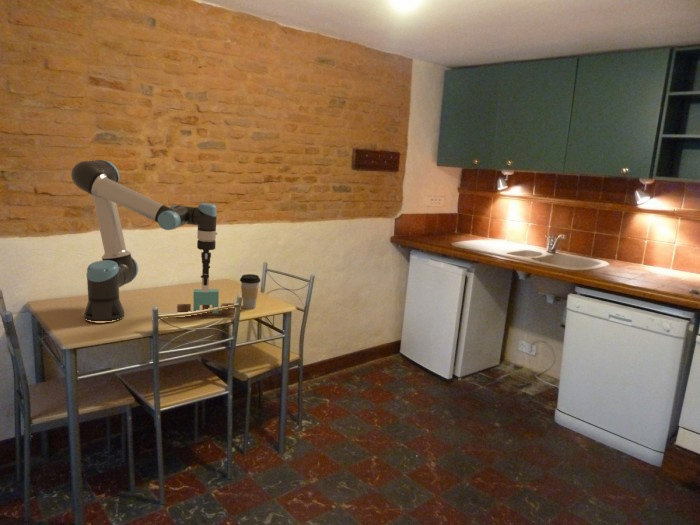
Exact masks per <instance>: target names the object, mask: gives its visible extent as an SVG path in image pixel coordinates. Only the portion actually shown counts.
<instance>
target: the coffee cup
mask: <svg viewBox="0 0 700 525" xmlns="http://www.w3.org/2000/svg"><path fill="white" fill-rule="evenodd" d="M239 282H240V284H241V285H240V287H241V298H242V308H243V309H245V308H246V309H245V310H253V309H252V308H254V309H256V307H257V306H256V305H257V300H258V294H259V287H260V286H259V285H260V284H259V283H260V282H261V278H260V276H259V275H257V274H253V273H252V274H251V273H245V274H243V275H242V276H241V277H240V278H239Z"/></svg>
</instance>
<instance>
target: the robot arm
mask: <svg viewBox="0 0 700 525" xmlns="http://www.w3.org/2000/svg"><path fill="white" fill-rule="evenodd" d="M70 174H71V175H70V176H71V180H72V182H73V184H74V186H76V187H77V188H78V189H79V190H81V191H83V192H86V193H87V194H88V196H90V197H91V198H92V199H93V200H92V201H93V204H94V209H95V214H96V218H97V223H98V227H99V232H100V237H101V242H102V246H103V251H104V254H103V255H102V256H101V260H99V261H94V262H92V263H90V264H89V265H88V266H87V267H86V281H87V297H88V298H87V299H88V301H87V303H86V304H87V305H86V306H85V311H84V317H83V318H85V319H87V320H91V321H112V320H117V319H120V318H122V317H124V318H125V311H124V310H125V309H124V308H123V306H122V305H123V304H122V302H121V299H120V288H121V287H124V285H127V284H129V283H131V282H132V281H134V280H135V278H136V277H137V275H138V273H139V265H138V262H137V261H136V260H135V259H134V258H133V256H132V253H131V251H129V250H127V248H126V244H125V243H126V242H125V238H124V233H123V228H122V223H121V218H120V214H119V209H118V205H119V206H121V207H123V208H126V209H128V210H130V211H132V212H134V213H136V214H138V215H141V216H142V217H144V218H147V219H149V220H151V221H153V222H156V223H157V224H158V226H159V227H160V228H161V229H163V230H165V231H171V230H172V231H173V230H175V229H177V228H180V227H181V226H184V225H194V226H197V238H196V239H197V249H198V250H200V251H201V255H200V256H201V264H202V270H201V271H202V272H201V275H200V278H201V289H202V292H208V289H209V287H210V286H209V284H210V282H209V281H210V275H209V274H210V268H211V266H210V264H211V257H212V252H210V251H214V250H216V235H218V232H217V216H218V215H217V214H218V213H217V205H216V204H214V203H210V202H200V203H198V205H197V206H196V207H195V206H187V205H181V204H178V205H176V204H173V205H171V206H170V207H169V206H167V205H165V204H163V203H161V202H159V201H156V200H155V199H152V198H150V197H148V196H147V195H143V193H142V194H141V193H139V192H137V191H136V190H133V189H131V188H129V187H127V186H125V185H122V184H121V183H119V182H120V177H121V176H120V171H119V169H118V168H117V166H116V165H115V164H113V163H112V162H110V161H108V160H103V159H97V160H83V161H80V162H78V163H76V164H75V165H74V166H73V168H72V170H71V173H70ZM85 319H84V320H85Z"/></svg>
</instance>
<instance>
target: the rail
mask: <svg viewBox="0 0 700 525" xmlns="http://www.w3.org/2000/svg"><path fill="white" fill-rule="evenodd" d="M228 305H234V306H235V303H234V302H231V303H230V302H229V303H228V302H227V303H226V302H225V303H224V302H223V303H221V304H220V308H221V307H222V306H228ZM176 306H177V307H176V311H177V312H188V311H191V312H192V309H191V306H192V305H191V303H177V305H176ZM201 308H202V310H204V309H208V308H210V309H211V305H202V307H201ZM202 310H201V311H202ZM177 312H176V313H177ZM234 317H235V307H234V308H228V309H222V310H221V309H220V310H218V313H215V314H213V313H212V312H207V313H202V314H197V315H191V316H185V317H177V316H176V319H198V318H199V319H200V318H201V319H204V318H206V319H207V318H234Z"/></svg>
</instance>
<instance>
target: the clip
mask: <svg viewBox="0 0 700 525" xmlns="http://www.w3.org/2000/svg"><path fill="white" fill-rule="evenodd" d="M219 293H220V292H219V289H218V288H210V289H208V292H202V288H198V289H196V288H195V289H193V310H192V311H196V310H200V306H203V305H210V306H212V307H211V309H212V308H214V307H218V308H219V298H220V297H219ZM200 311H201V310H200ZM211 311H212V310H211ZM218 311H219V309H218V310H217V311H212V313H213V314H215V313H218Z"/></svg>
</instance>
